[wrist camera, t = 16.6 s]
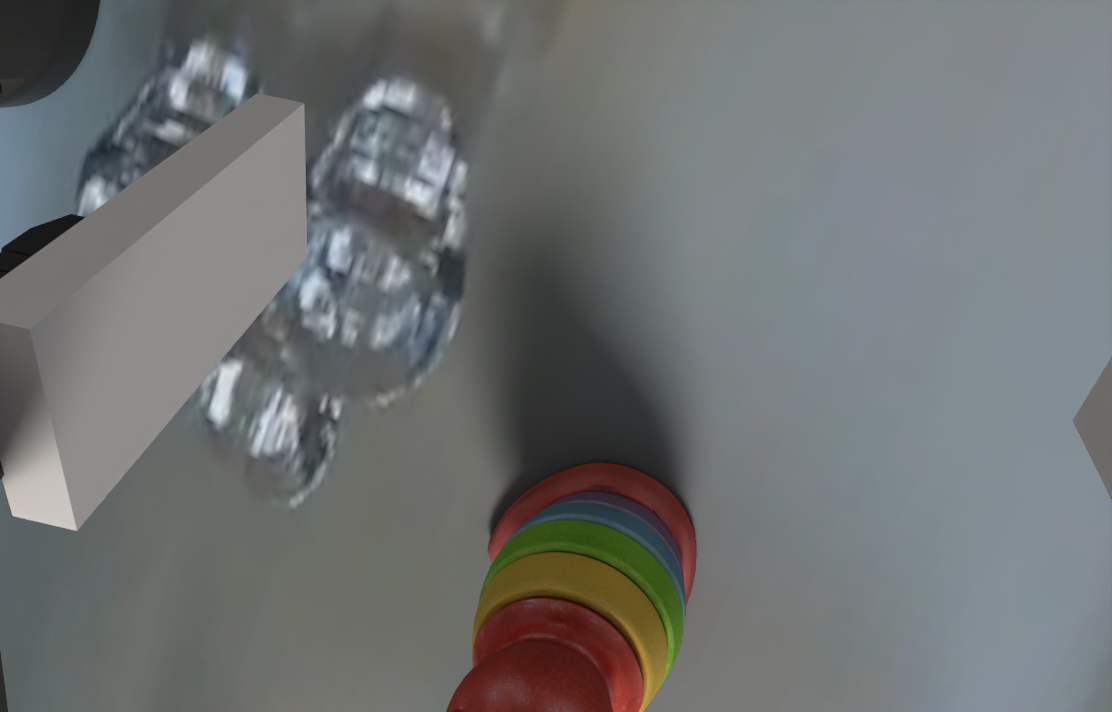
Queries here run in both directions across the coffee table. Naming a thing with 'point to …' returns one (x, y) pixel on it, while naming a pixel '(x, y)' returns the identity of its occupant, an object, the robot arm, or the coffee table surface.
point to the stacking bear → (581, 596)
